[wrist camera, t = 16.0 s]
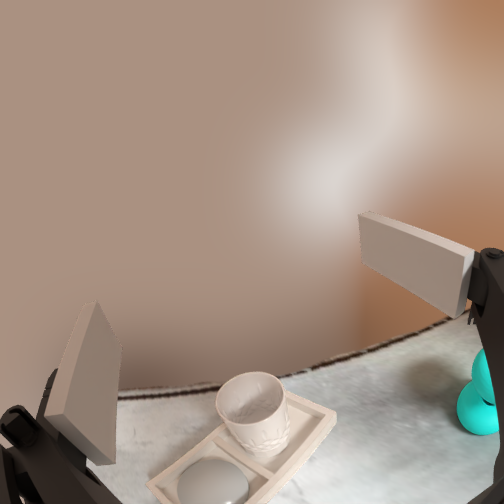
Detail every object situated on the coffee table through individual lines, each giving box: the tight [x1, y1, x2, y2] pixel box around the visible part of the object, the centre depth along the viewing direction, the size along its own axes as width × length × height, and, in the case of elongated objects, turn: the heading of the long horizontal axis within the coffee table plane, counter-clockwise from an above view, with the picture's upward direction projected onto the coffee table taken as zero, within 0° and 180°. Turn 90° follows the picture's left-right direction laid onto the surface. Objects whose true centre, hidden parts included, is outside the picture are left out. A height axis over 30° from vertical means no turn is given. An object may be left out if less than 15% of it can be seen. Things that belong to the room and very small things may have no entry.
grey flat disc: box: [177, 459, 250, 504], centre depth 25 cm, size 9×9×1 cm
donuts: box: [457, 349, 499, 435], centre depth 23 cm, size 10×10×10 cm
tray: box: [145, 390, 336, 504], centre depth 29 cm, size 24×12×3 cm, turn 138°
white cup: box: [215, 372, 291, 458], centre depth 30 cm, size 8×8×10 cm
